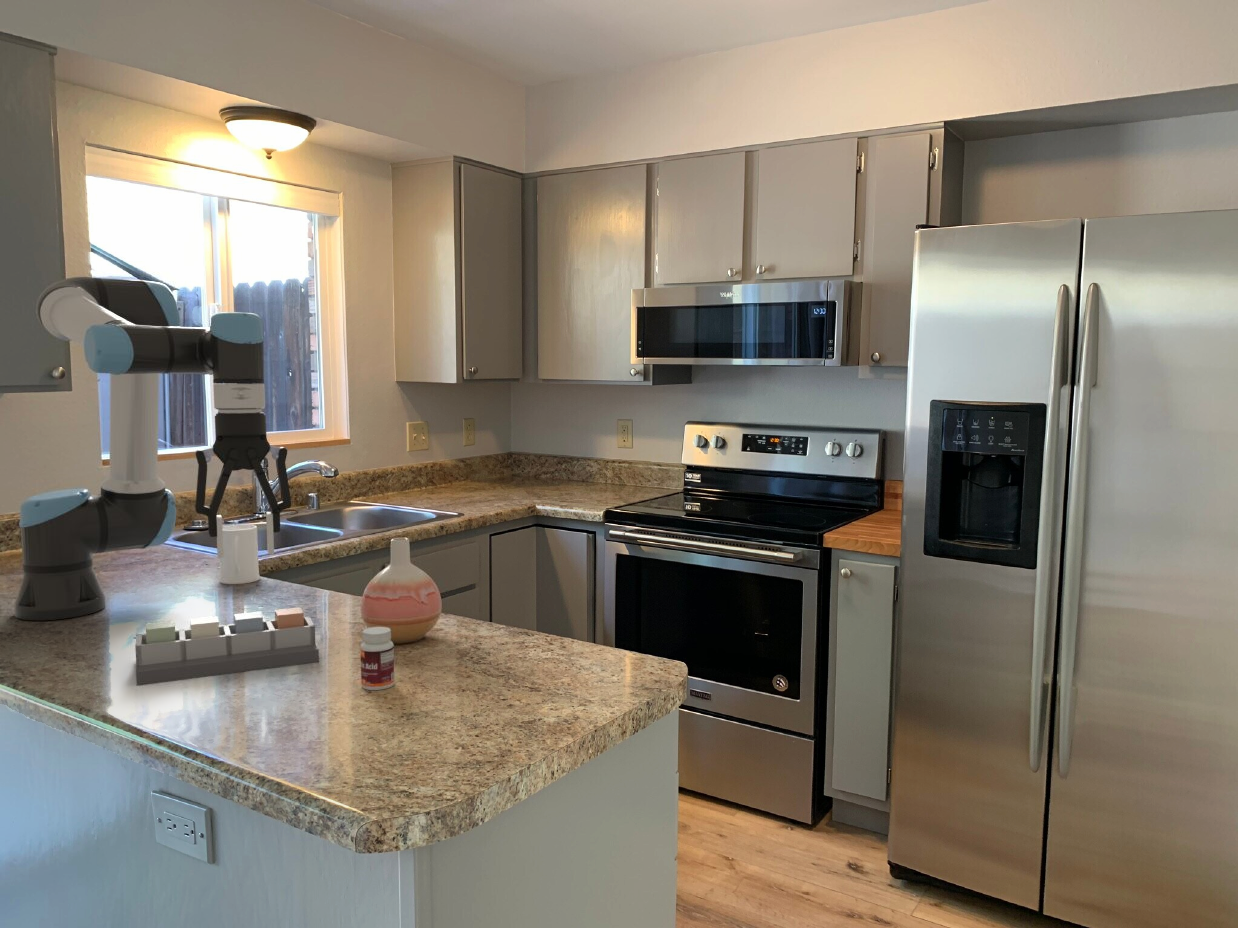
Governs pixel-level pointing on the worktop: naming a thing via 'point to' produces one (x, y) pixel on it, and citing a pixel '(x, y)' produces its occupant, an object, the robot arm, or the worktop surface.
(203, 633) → the key cream
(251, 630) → the key slate
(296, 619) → the key rust
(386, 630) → the pill bottle
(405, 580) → the vase
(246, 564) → the mug
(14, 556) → the worktop surface
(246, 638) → the grey slotted tray
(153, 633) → the key sage
